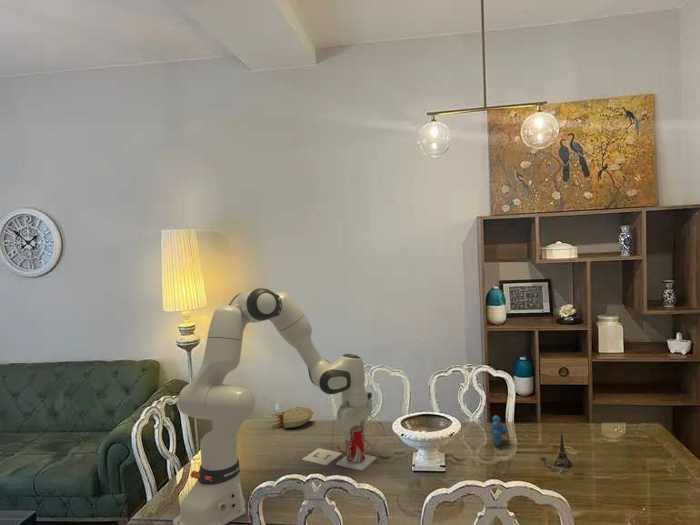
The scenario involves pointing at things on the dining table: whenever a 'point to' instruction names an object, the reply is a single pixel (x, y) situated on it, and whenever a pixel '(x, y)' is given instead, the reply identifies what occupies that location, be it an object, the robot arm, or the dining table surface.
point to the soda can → (355, 445)
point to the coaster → (357, 466)
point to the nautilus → (293, 417)
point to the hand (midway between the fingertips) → (355, 435)
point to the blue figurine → (497, 430)
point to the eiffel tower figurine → (560, 462)
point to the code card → (322, 456)
